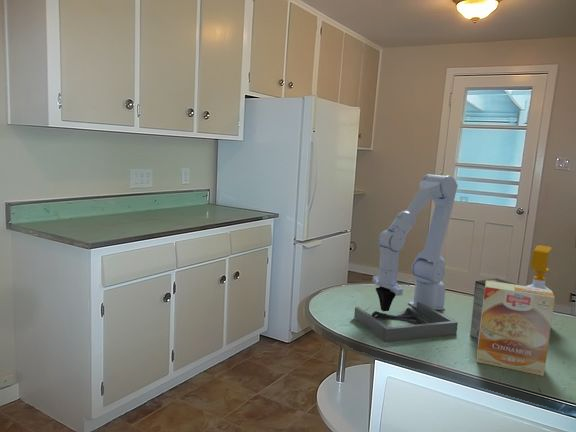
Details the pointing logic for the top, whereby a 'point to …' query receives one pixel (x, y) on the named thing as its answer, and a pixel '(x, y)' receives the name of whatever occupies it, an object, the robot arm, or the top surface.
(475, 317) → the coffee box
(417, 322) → the bracket
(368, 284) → the top surface
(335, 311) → the top surface
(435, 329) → the box
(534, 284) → the soap bottle
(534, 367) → the coffeecake box
